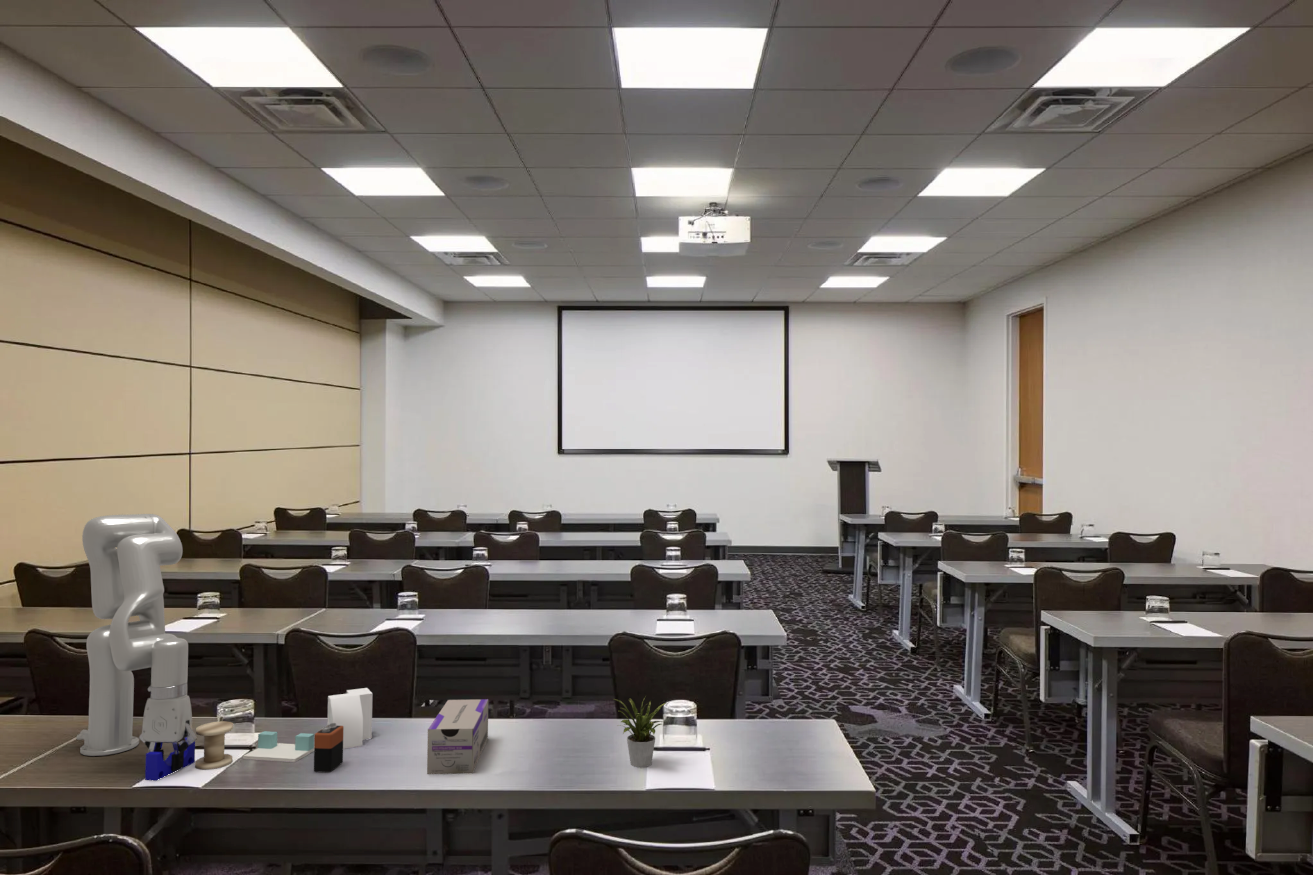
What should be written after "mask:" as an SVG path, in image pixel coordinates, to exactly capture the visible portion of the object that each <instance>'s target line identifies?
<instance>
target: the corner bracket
mask: <svg viewBox="0 0 1313 875" xmlns="http://www.w3.org/2000/svg"><path fill="white" fill-rule="evenodd" d="M331 723H336V726H343V750H344V749H345V750H346V749H351V748H357V747H362V746H363V741H365V739H366V740H370V739H369V738H372V732H373V730H372V729H373V692H372V691H371V690H370V689H369V688H368V687H364V688H355V689H346V693H343V694H341V693H340V694H333V695H328V696H327V725H326V726H328V725H329V724H331Z"/></svg>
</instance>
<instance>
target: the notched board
mask: <svg viewBox="0 0 1313 875" xmlns="http://www.w3.org/2000/svg"><path fill="white" fill-rule="evenodd" d="M314 738H315V733H304V732H300V733H299V734H297V735H295V736H294V740H295V741H294V743H282V742H278V731H269V730H268V731H266V730H264V731H262V732H260V733H258V736H257V748H256V749H254V750H251V751H250V752H248V753H246V754H244V755H243V756H242V758H243V760H251V761H267V762H270V761H271V762H283V763H284V762H285V763H296V762H298V761H299V760H302V759H303V758H304V757H307V756H308V755H310V754H311V753H314Z"/></svg>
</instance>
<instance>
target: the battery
mask: <svg viewBox="0 0 1313 875" xmlns="http://www.w3.org/2000/svg"><path fill="white" fill-rule="evenodd" d="M343 759H344V749H343V726H336V723H331V724H329V725H328V726H327V725H326V726H324V727H321V729H320V730H319V731H317V732H316V733H314V751H313V771H314V772H316V773H331V772H332V771H333V770H335V769H336V768H338V767H339V766H340V765H342V763H344V762H343V761H344V760H343Z"/></svg>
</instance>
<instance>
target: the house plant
mask: <svg viewBox="0 0 1313 875" xmlns="http://www.w3.org/2000/svg"><path fill="white" fill-rule="evenodd" d="M646 696H647V695H645V696H644V698H643V700H642V702H641V705H643V703H644V701H645V698H646ZM614 700H615V701H617V702H619V703H620V704H622V705H623V707H624V708H623V707H621V709H622V710H624V711H625V712H626V713H627V714H628V716H629V717H630V718H631V720H632V722H633V723H632V722H631V720H630V718H629V717H628V716H627V714H625V712H623V711H621V710H619V712H620V713H622V715H624V716H625V717H626V719H622V720H621V721H620V723H622V724H623V725H621V724H620V725H619V724H618V725H616V726H617V727H618V726H621V727H623V732H622V735H624V733H627V732H629V733H630V734H628V736H626V742H627V748H628V755H629V762H630V765H631V766H632V767H636V768H646V767H650V766H651V765H652V763H653V756H654V749H655V745H656V744H655V743H656V736H655V733H656V728H657V727H658V726H660V725H661V726H662V725H663V722H664V721H663V720H654V721H652V720H653V718H654V716H655V715H656V714H657V713H658V712H659V710H661V708H662V706H665V705H666V704H667V703H668V702H664V703H662V704H661V705H659V706H658V707H657V708H656V709H655V710H654V711H653V712H651V713H650V711H651V704H652V703H651V701H649V702H648V703H646V704H645V705H644V706H641V707H640V712H639V711H638V709H637V707H636V704H635V702H634V701H633V699H632V698H631V697H630V698H629V699H628V701H629V703H630V705H631V709H632V711H633V713H634V716H635V719H634V717H633V714H632V713H631V712H630V711H629V709H628V707H627V705H626V704H625V703H624V702H622V701H621V700H619V699H615V698H614ZM646 705H648V706H647V708H646V711H645V712H646V713H645V715H643V713H644V710H645V707H646ZM649 713H650V714H649ZM660 722H661V723H660ZM656 723H657V724H656ZM655 724H656V725H655ZM624 725H625V726H624ZM626 726H628V727H626Z"/></svg>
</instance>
